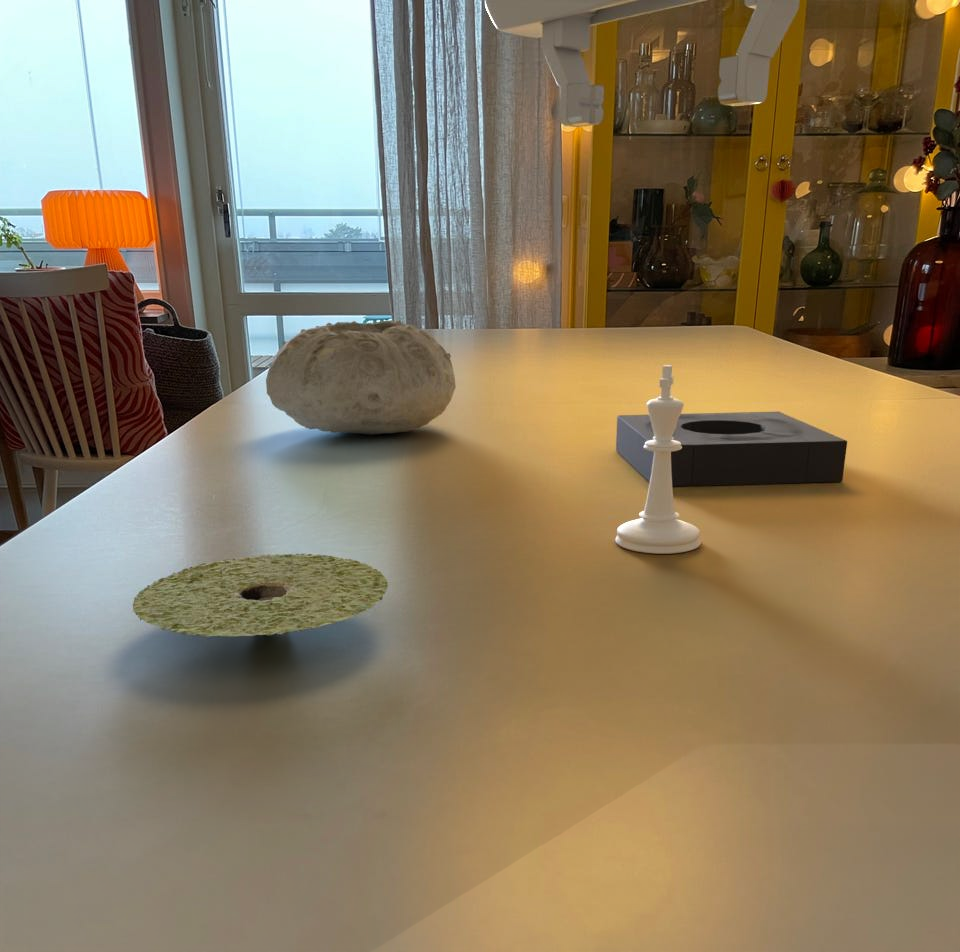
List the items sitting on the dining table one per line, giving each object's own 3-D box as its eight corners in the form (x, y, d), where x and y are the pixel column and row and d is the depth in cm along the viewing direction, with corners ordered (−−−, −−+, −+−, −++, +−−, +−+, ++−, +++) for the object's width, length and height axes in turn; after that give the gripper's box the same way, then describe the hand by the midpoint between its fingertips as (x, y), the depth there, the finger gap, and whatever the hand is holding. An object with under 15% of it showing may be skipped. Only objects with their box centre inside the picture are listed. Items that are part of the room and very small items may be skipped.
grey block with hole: (775, 446, 84) (779, 411, 82) (842, 482, 71) (847, 440, 69) (615, 450, 83) (617, 415, 82) (653, 487, 70) (655, 445, 69)
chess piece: (606, 549, 55) (612, 369, 52) (625, 528, 60) (632, 360, 56) (693, 557, 54) (706, 371, 50) (706, 534, 58) (719, 362, 54)
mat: (440, 625, 44) (439, 585, 44) (226, 703, 37) (220, 656, 36) (296, 574, 52) (293, 539, 51) (94, 631, 44) (87, 590, 44)
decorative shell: (452, 447, 85) (449, 328, 81) (251, 449, 86) (239, 330, 82) (460, 415, 102) (458, 315, 98) (292, 417, 102) (283, 317, 98)
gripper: (950, -324, 36) (897, 94, 42) (548, -160, 50) (546, 138, 55) (872, -393, 32) (824, 80, 38) (459, -194, 46) (465, 131, 51)
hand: (656, 115), depth 47 cm, fingers open, 8 cm apart
